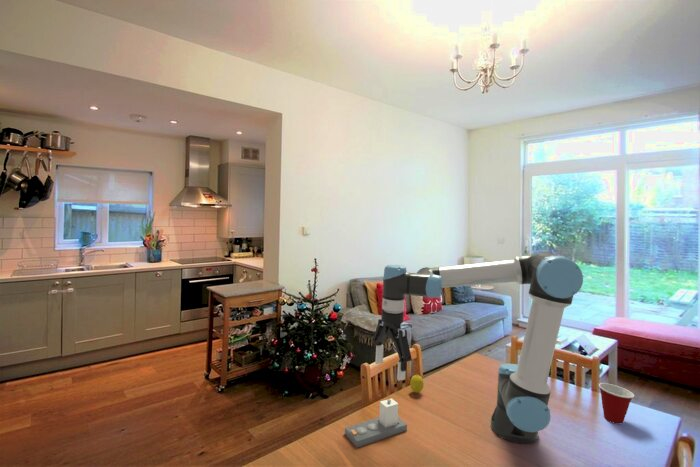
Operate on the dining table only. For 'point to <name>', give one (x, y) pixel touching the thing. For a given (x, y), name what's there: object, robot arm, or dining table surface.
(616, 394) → the plastic cup
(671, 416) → the dining table surface
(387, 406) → the block
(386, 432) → the power strip
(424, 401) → the dining table surface
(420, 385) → the lemon
